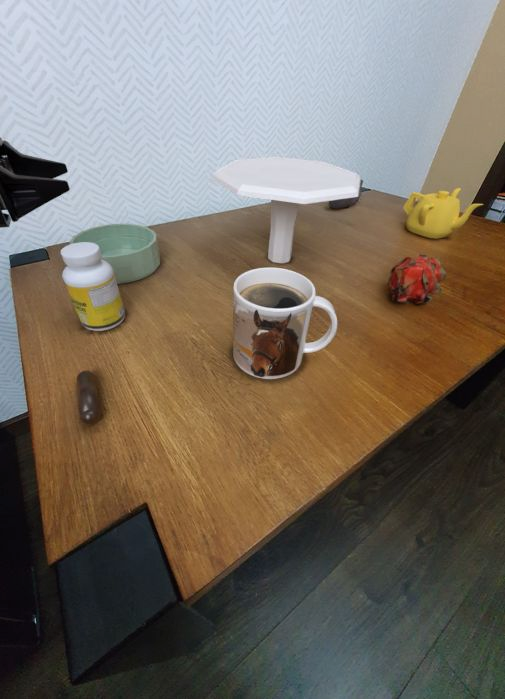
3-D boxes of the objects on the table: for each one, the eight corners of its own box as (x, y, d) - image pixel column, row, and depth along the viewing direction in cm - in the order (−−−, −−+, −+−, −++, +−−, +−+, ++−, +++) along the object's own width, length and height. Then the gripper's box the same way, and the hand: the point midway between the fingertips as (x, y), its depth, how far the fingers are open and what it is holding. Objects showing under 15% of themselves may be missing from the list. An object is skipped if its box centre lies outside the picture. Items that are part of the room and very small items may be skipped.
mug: (265, 322, 49) (271, 258, 42) (331, 358, 44) (351, 291, 36) (218, 355, 43) (215, 286, 36) (287, 401, 38) (300, 331, 30)
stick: (84, 431, 34) (77, 420, 32) (79, 380, 39) (73, 369, 37) (103, 424, 34) (98, 413, 33) (96, 376, 39) (91, 365, 38)
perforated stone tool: (334, 213, 90) (339, 187, 85) (320, 208, 93) (324, 183, 88) (363, 204, 97) (369, 180, 93) (349, 200, 100) (354, 176, 96)
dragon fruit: (424, 295, 61) (389, 324, 56) (400, 259, 61) (363, 286, 56) (466, 275, 53) (429, 308, 48) (438, 235, 53) (398, 263, 48)
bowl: (82, 292, 54) (71, 262, 50) (77, 255, 64) (67, 229, 60) (169, 276, 59) (164, 248, 55) (151, 245, 69) (147, 220, 65)
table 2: (366, 257, 69) (392, 173, 58) (298, 310, 52) (315, 207, 41) (267, 224, 81) (272, 150, 70) (186, 258, 65) (177, 169, 54)
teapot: (464, 244, 77) (486, 202, 70) (409, 239, 77) (426, 197, 71) (443, 224, 87) (461, 185, 80) (395, 220, 88) (409, 181, 81)
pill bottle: (82, 312, 49) (54, 241, 42) (125, 305, 51) (105, 236, 44) (81, 336, 45) (49, 263, 37) (127, 328, 47) (106, 256, 39)
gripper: (-170, 104, 26) (43, 111, 31) (-98, 87, 38) (46, 94, 43) (-82, 236, 33) (77, 223, 39) (-46, 186, 45) (72, 182, 51)
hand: (67, 176), depth 43 cm, fingers open, 9 cm apart
